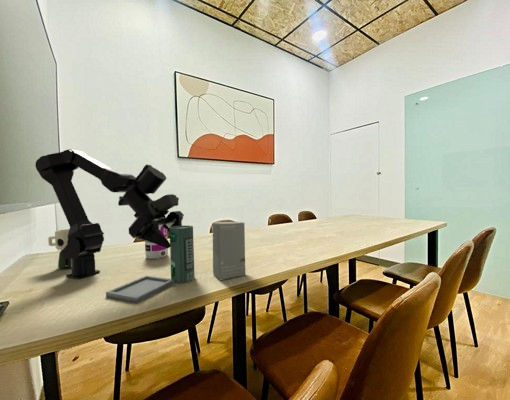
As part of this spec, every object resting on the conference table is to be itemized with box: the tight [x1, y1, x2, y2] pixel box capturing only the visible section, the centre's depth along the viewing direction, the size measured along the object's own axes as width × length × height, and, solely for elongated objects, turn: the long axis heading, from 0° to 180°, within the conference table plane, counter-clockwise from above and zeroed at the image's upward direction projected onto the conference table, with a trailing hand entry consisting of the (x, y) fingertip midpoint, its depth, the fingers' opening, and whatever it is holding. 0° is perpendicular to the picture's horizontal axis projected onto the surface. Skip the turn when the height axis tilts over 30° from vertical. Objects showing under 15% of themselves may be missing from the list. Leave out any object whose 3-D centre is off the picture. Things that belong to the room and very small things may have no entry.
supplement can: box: [144, 225, 169, 260], centre depth 92 cm, size 8×8×15 cm
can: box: [169, 225, 196, 285], centre depth 66 cm, size 6×6×15 cm
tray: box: [105, 275, 175, 304], centre depth 59 cm, size 10×12×1 cm
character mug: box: [48, 228, 71, 269], centre depth 81 cm, size 11×7×13 cm, turn 116°
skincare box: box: [211, 221, 246, 281], centre depth 69 cm, size 8×7×16 cm
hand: (178, 243), depth 65 cm, fingers open, 9 cm apart
